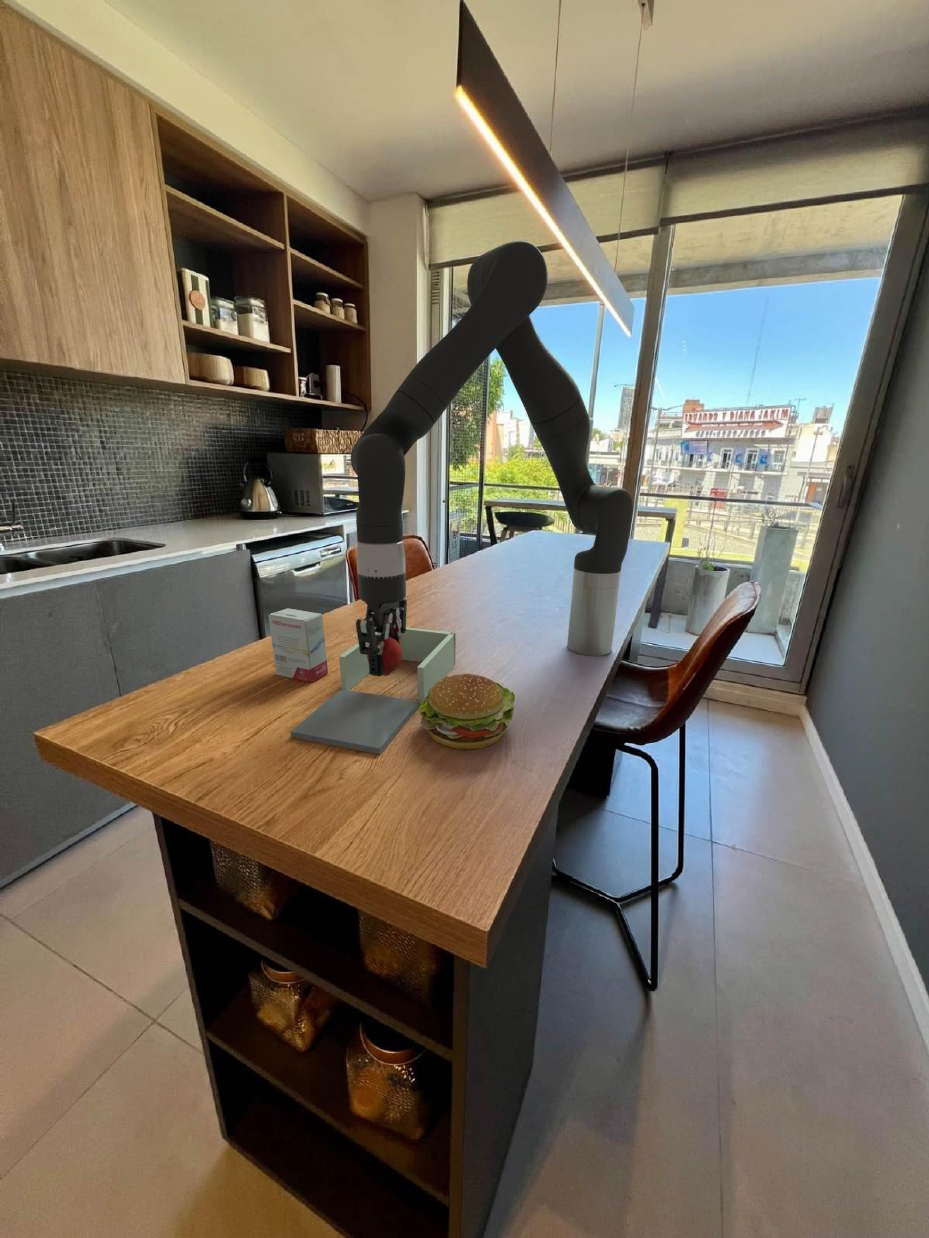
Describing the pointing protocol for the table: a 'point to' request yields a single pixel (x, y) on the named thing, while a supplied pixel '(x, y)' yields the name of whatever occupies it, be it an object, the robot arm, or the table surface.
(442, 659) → the cubby
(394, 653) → the onion
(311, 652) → the ink box
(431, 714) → the food
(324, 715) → the tile
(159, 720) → the table surface
